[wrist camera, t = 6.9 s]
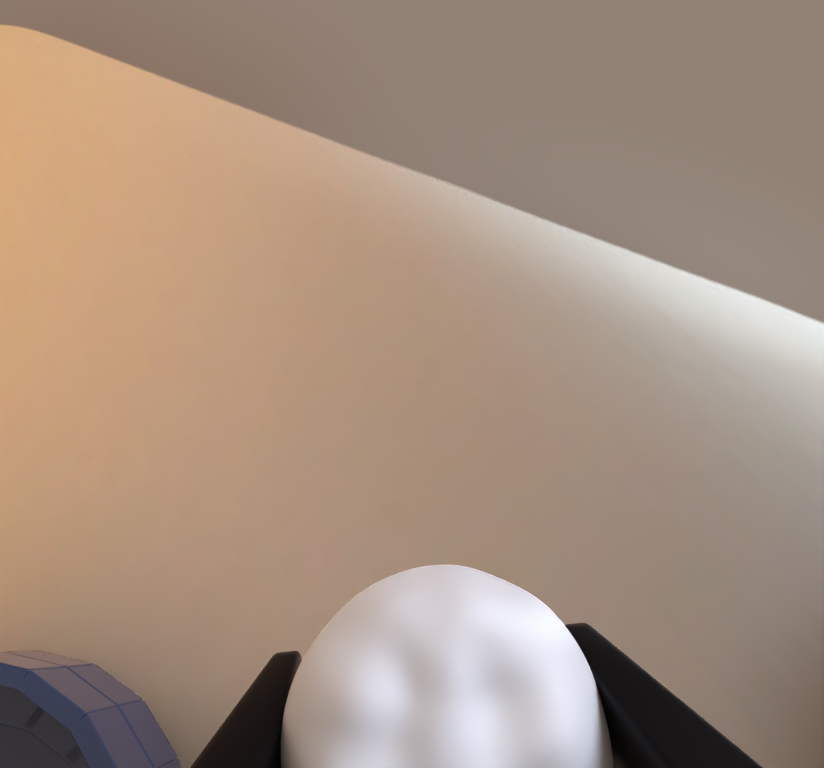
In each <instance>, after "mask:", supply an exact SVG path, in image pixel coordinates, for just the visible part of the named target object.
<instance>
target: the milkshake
mask: <svg viewBox="0 0 824 768" xmlns="http://www.w3.org/2000/svg"><path fill="white" fill-rule="evenodd" d="M281 768H613V753H612V746H611V741H610V735H609V730H608V726H607V721H606V717H605V714H604V710H603V706H602V702H601V699H600V695H599V692H598V689H597V686H596V683H595V680H594V677H593V674H592V672H591V669H590V667H589V665H588V662H587V660H586V658H585V656H584V654H583V652H582V651H581V649H580V647H579V645H578V644H577V642H576V641H575V639H574V637H573V636H572V635H571V633H570V632H569V630H568V629H567V628H566V626H565V625H564V624H563V623H562V621H561V620H560V619H559V618H558V617H557V616H556V614H555V613H554V612H553V611H552V610H551V609H550V608H549V607H548V606H547V605H545V604H544V603H543V602H542V601H541V600H539V599H538V598H536V597H535V596H533V595H532V594H530V593H529V592H527V591H525V590H524V589H522V588H520V587H518V586H516V585H514V584H512V583H510V582H507V581H505V580H503V579H501V578H498V577H496V576H493V575H491V574H488V573H486V572H483V571H480V570H477V569H474V568H470V567H466V566H460V565H430V566H423V567H417V568H413V569H409V570H405V571H402V572H399V573H396V574H393V575H391V576H388V577H386V578H384V579H382V580H380V581H378V582H376V583H374V584H372V585H371V586H369V587H367V588H366V589H364V590H363V591H361V592H360V593H358V594H357V595H356V596H354V597H353V598H352V599H351V600H350V601H348V602H347V603H346V604H345V605H344V606H343V607H342V608H341V609H340V610H339V611H338V612H337V613H336V614H335V615H334V616H333V617H332V618H331V620H330V621H329V622H328V623H327V624H326V625H325V627H324V628H323V629H322V630H321V632H320V633H319V634H318V636H317V637H316V638H315V640H314V641H313V643H312V644H311V646H310V647H309V649H308V650H307V652H306V654H305V655H304V657H303V659H302V661H301V663H300V665H299V667H298V669H297V672H296V674H295V676H294V679H293V682H292V685H291V688H290V691H289V694H288V697H287V701H286V705H285V710H284V715H283V722H282V731H281Z"/></svg>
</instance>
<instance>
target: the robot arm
mask: <svg viewBox="0 0 824 768" xmlns="http://www.w3.org/2000/svg"><path fill="white" fill-rule="evenodd" d="M565 626H566V628H567V629H568V630H569V632H570V633H571V635H572V636H573V637H574V639H575V641H576V642H577V644H578V645H579V647H580V649H581V651H582V652H583V654H584V656H585V658H586V660H587V662H588V665H589V667H590V669H591V672H592V674H593V677H594V680H595V683H596V686H597V689H598V692H599V695H600V699H601V702H602V706H603V710H604V714H605V717H606V721H607V726H608V730H609V735H610V741H611V746H612V753H613V768H763V767H761V766H760V765H759V764H758V763H757V762H755V761H754V760H753V759H752V758H751V757H749V756H748V755H747V754H746V753H744V752H743V751H742V750H741V749H740V748H738V747H737V746H736V745H735V744H733V743H732V742H731V741H730V740H729V739H727V738H726V737H725V736H724V735H723V734H721V733H720V732H719V731H718V730H716V729H715V728H714V727H713V726H712V725H710V724H709V723H708V722H707V721H705V720H704V719H703V718H702V717H701V716H699V715H698V714H697V713H696V712H695V711H693V710H692V709H691V708H690V707H688V706H687V705H686V704H685V703H684V702H682V701H681V700H680V699H679V698H677V697H676V696H675V695H674V694H673V693H671V692H670V691H669V690H668V689H667V688H665V687H664V686H663V685H662V684H660V683H659V682H658V681H657V680H656V679H654V678H653V677H652V676H651V675H649V674H648V673H647V672H646V671H645V670H643V669H642V668H641V667H640V666H639V665H637V664H636V663H635V662H634V661H632V660H631V659H630V658H629V657H628V656H626V655H625V654H624V653H623V652H621V651H620V650H619V649H618V648H617V647H615V646H614V645H613V644H612V643H611V642H609V641H608V640H607V639H606V638H604V637H603V636H602V635H601V634H600V633H598V632H597V631H596V630H595V629H593V628H592V627H591V626H590V625H588V624H586V623H576V624H566V625H565ZM301 661H302V659H301V655H300V653H299V652H297V651H289V652H279V653H276V654H275V655H273V657H272V658H271V659H270V661H269V662H268V663H267V665H266V666H265V667H264V669H263V670H262V671H261V673H260V674H259V675H258V677H257V678H256V680H255V681H254V682H253V684H252V685H251V686H250V688H249V689H248V690H247V692H246V693H245V694H244V696H243V697H242V699H241V700H240V701H239V703H238V704H237V705H236V707H235V708H234V709H233V711H232V712H231V713H230V715H229V716H228V717H227V719H226V720H225V722H224V723H223V724H222V726H221V727H220V728H219V730H218V731H217V732H216V734H215V735H214V736H213V738H212V739H211V740H210V742H209V743H208V745H207V746H206V747H205V749H204V750H203V751H202V753H201V754H200V755H199V757H198V758H197V759H196V761H195V762H194V764H193V765H192V766H191V768H281V731H282V722H283V715H284V710H285V705H286V701H287V697H288V694H289V691H290V688H291V685H292V682H293V679H294V676H295V674H296V672H297V669H298V667H299V665H300V663H301Z"/></svg>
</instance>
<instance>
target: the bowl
mask: <svg viewBox="0 0 824 768" xmlns="http://www.w3.org/2000/svg"><path fill="white" fill-rule="evenodd" d="M0 768H180V764H179V760H178V759H177V755H176V753H175V751H174V750H173V748H172V746H171V745H170V743H169V741H168V740H167V738H166V736H165V735H164V733H163V731H162V730H161V728H160V726H159V725H158V723H157V721H156V720H155V718H154V716H153V715H152V713H151V711H150V710H149V708H148V706H147V705H146V703H145V701H142V698H140V697H139V696H138V695H136V694H135V693H134V692H132V691H131V690H130V689H128V688H127V687H126V686H124V685H123V684H122V683H120V682H119V681H117V680H116V679H115V678H113V677H112V676H111V675H109V674H108V673H107V672H105V671H104V670H103V669H101V668H100V667H99V666H97V665H94V664H93V663H89V662H85V661H80V660H76V659H72V658H67V657H63V656H59V655H54V654H50V653H46V652H41V651H8V652H0Z"/></svg>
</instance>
